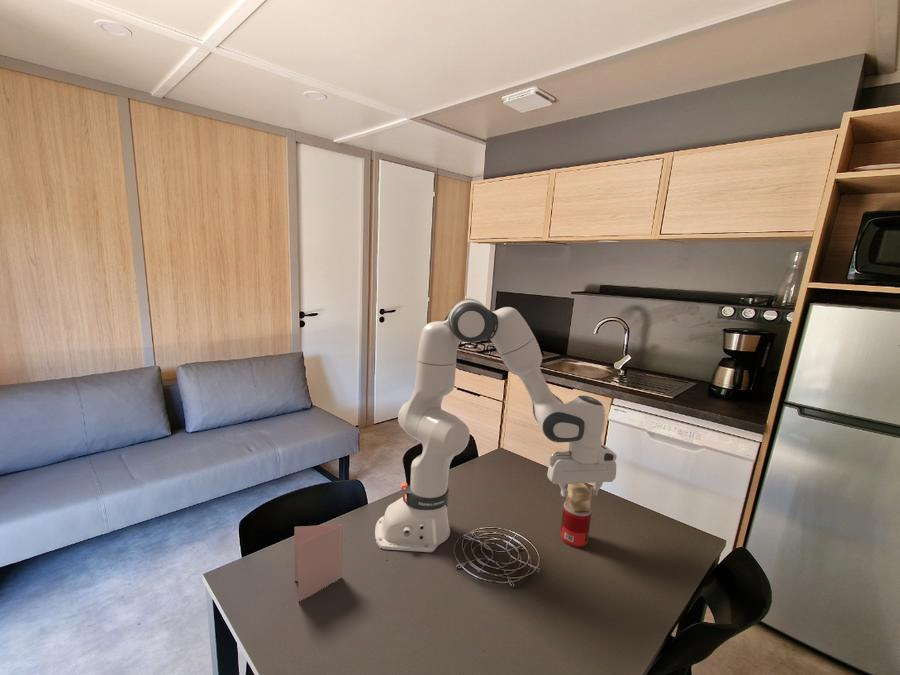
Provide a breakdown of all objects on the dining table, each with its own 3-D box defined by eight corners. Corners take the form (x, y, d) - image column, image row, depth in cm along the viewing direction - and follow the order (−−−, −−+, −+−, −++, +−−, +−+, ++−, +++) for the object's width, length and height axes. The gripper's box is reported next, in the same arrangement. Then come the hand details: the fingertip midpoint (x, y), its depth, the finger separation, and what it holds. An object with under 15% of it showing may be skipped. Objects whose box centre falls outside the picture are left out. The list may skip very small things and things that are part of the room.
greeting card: (342, 575, 101) (343, 522, 98) (339, 599, 94) (340, 542, 91) (295, 578, 99) (295, 524, 96) (288, 603, 92) (288, 545, 89)
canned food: (591, 549, 116) (595, 514, 115) (563, 547, 116) (567, 513, 115) (582, 532, 124) (586, 499, 122) (557, 530, 124) (561, 498, 122)
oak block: (573, 511, 116) (576, 492, 114) (565, 501, 120) (568, 483, 119) (589, 510, 116) (591, 492, 115) (581, 501, 121) (583, 483, 120)
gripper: (555, 457, 111) (550, 502, 113) (622, 455, 114) (615, 499, 116) (546, 447, 117) (541, 490, 119) (609, 445, 120) (604, 487, 123)
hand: (578, 494), depth 118 cm, fingers open, 8 cm apart
